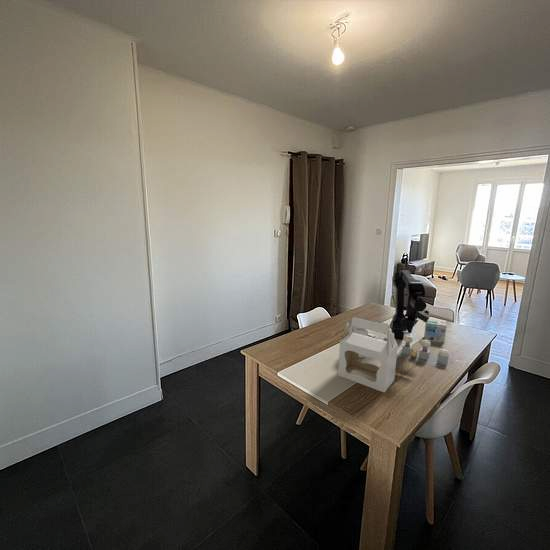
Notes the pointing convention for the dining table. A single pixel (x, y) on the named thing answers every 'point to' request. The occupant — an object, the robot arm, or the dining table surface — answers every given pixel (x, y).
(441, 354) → the knob
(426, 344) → the knob mid
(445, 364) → the panel
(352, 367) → the gable box
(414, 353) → the knob
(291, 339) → the dining table surface
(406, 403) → the dining table surface
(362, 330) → the milk carton
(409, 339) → the knob
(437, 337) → the light bulb box
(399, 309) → the robot arm
